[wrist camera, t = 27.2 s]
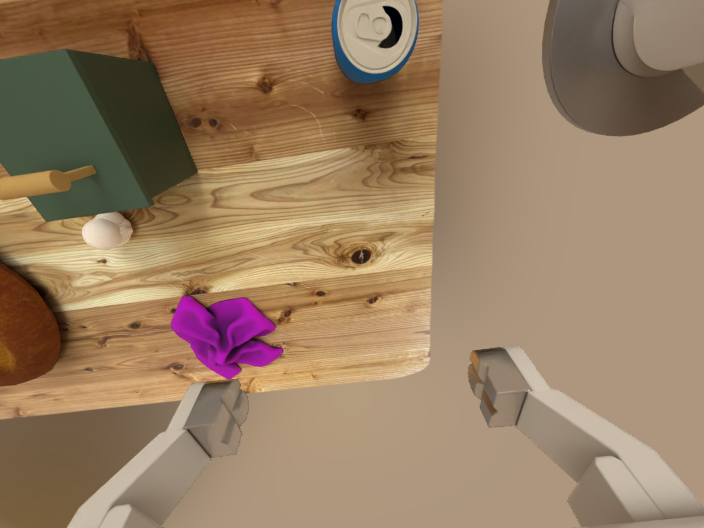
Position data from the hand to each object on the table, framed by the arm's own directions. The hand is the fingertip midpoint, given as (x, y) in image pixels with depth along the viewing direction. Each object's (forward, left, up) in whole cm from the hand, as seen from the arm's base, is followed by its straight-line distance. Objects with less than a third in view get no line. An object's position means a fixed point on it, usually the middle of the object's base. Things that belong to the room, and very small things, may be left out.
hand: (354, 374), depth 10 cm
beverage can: (-12, -4, -31) cm, 34 cm away
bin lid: (+8, -24, -21) cm, 33 cm away
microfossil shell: (+22, -24, -31) cm, 45 cm away
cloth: (+37, -4, -31) cm, 49 cm away
